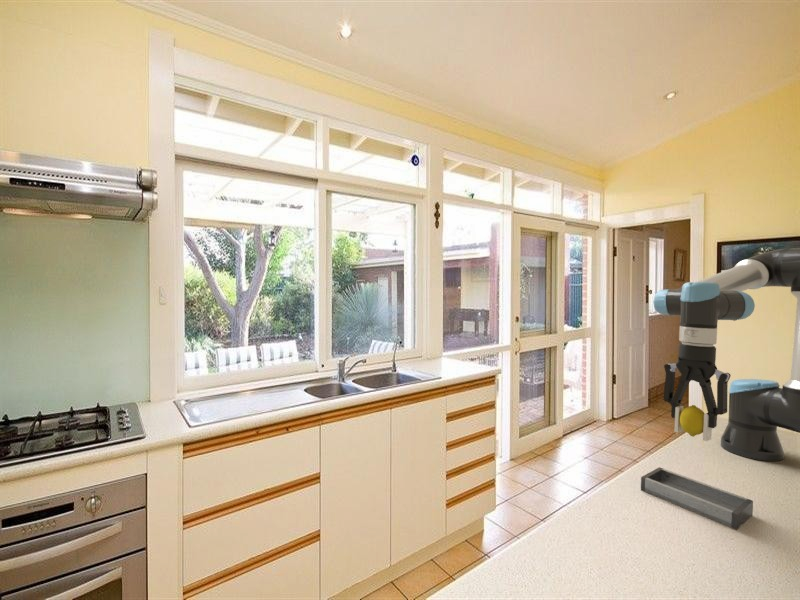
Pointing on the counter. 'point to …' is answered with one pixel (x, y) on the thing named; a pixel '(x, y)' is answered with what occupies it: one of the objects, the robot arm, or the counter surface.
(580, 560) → the counter surface
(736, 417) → the robot arm
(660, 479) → the tray
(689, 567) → the counter surface
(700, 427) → the lemon
